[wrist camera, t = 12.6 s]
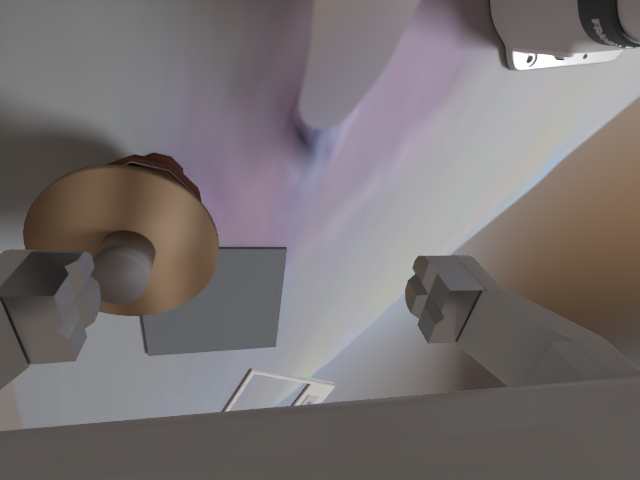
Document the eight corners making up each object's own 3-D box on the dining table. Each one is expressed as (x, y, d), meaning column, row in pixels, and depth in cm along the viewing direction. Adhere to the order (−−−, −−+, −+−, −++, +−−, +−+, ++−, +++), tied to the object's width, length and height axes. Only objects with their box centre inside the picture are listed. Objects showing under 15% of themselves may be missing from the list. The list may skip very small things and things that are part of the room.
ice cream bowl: (164, 232, 46) (140, 312, 33) (85, 167, 39) (20, 237, 27) (227, 183, 44) (227, 249, 32) (155, 108, 38) (120, 154, 26)
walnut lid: (217, 168, 28) (215, 195, 24) (219, 304, 35) (219, 343, 31) (3, 159, 24) (-43, 189, 20) (55, 312, 31) (29, 358, 27)
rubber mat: (286, 247, 51) (286, 249, 51) (275, 344, 61) (275, 346, 61) (133, 247, 46) (132, 249, 45) (148, 353, 56) (148, 355, 55)
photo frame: (300, 430, 76) (219, 420, 68) (299, 425, 77) (219, 415, 69) (335, 386, 70) (252, 371, 63) (334, 382, 71) (251, 366, 63)
